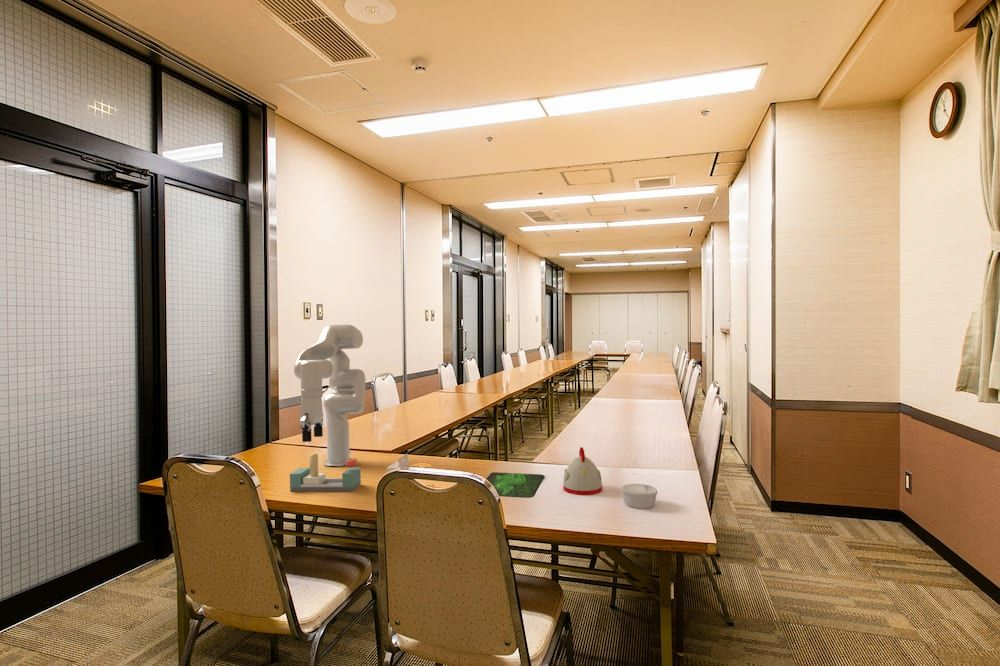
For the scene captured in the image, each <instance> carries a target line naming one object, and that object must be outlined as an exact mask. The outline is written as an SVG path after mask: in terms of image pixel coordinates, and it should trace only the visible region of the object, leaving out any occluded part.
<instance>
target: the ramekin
mask: <svg viewBox="0 0 1000 666" xmlns="http://www.w3.org/2000/svg"><path fill="white" fill-rule="evenodd" d="M621 492H622V496H623V502H624V504H625V505H626V506H627V507H629V508H632V509H635V510H649V509H652V508H653V507H654V506H655V504H656V498H657V495H658V489H657V488H656V487H655V486H652V485H649V484H644V483H629V484H624V485H623V486H622V487H621Z"/></svg>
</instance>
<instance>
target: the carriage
mask: <svg viewBox="0 0 1000 666" xmlns="http://www.w3.org/2000/svg"><path fill="white" fill-rule="evenodd" d="M308 459H309V468H310V474H308V475H307V476H305V477H303V484H322V483H323V482H325V478H326V473H325V472H319V454H318V453H310V454H309V458H308Z"/></svg>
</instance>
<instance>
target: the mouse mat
mask: <svg viewBox="0 0 1000 666" xmlns="http://www.w3.org/2000/svg"><path fill="white" fill-rule="evenodd" d="M544 477H545V475H544V474H538V473H520V472H519V473H517V472H495V471H494V472H491V473H490V474H489V475H488V476H487V477H486V478H485V480H486V479H487V480H488V481H489V482H490V483H491V484H492V485H493V486H494V488H495V489H496V491H497V493H498V495H499V496H498V497H505V498H506V497H507V498H520V499H521V498H523V499H530V498H533V497H534V496H535V495H536V493H537V491H538V489H539V487H540V485H541V484H542V481H543V480H544Z"/></svg>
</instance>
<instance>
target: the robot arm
mask: <svg viewBox="0 0 1000 666" xmlns="http://www.w3.org/2000/svg"><path fill="white" fill-rule="evenodd" d="M363 341H364V337H363V334H362V332H361V330H359V329H358V328H357V327H356V326H354V325H352V324H330V325H327V326H324V328H323V329H322V332H321V334H320V336H319V338H318V340H317V342H316V343H314V344H313V345H312V346H309V347H307V348H306V349H304V350H303V351H302V352H301V353H299V355H298V357H297V359H296V361H295V364H294V367H293V372H294V376H295V377H296V378H297V379H299V380H300V396H301V397H300V398H301V399H300V410H299V424H300V425H301V426H300V428H301V437H302V439H301V440H302V442H303V443H311V442H312V430H311V429H312V426H313V436H314V437H316V438H317V437H318V438H319V437H323V436H324V435H323V433H324V431H323V429H324V428H323V425H324V423H323V421H324V413H325V420H326V421H325V422H326V454H327V455H326V456H327V457H326V458H327V459H326V460H325V461H323V465H324V466H325V467H329V466H337V467H343V466H344V465H345V466H346V460H349V459H353V458H352V457H350V454H351V452H352V451H351V449H350V424H349V421H348V419H347V417H346V416H345V415H349V414H350V415H351V414H352V415H354V414H355V415H356V414H361V413H363V411H364V410H365V403H366V400H365V399H366V382H367V381H366V375H365V372H364V371H363V369H359V368H353V369H352V368H350V364H351V363H350V362H351V359H350V358H349V356H348V354H347V353H346V352H345V351H343V350H349V349H350V350H352V349H353V350H354V349H355V350H356V349H357V350H358V349H360V348H361V347H362V345H363ZM323 379H325V380H326V379H328V385H329V388H330V389H332V390H334V391H341V392H332V393H331V392H330V393H329V394H327V395H325V396H324V398H323ZM342 391H350V392H342ZM351 391H353V392H351ZM322 398H323V400H322ZM322 401H323V402H322ZM323 408H324V412H323Z"/></svg>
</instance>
